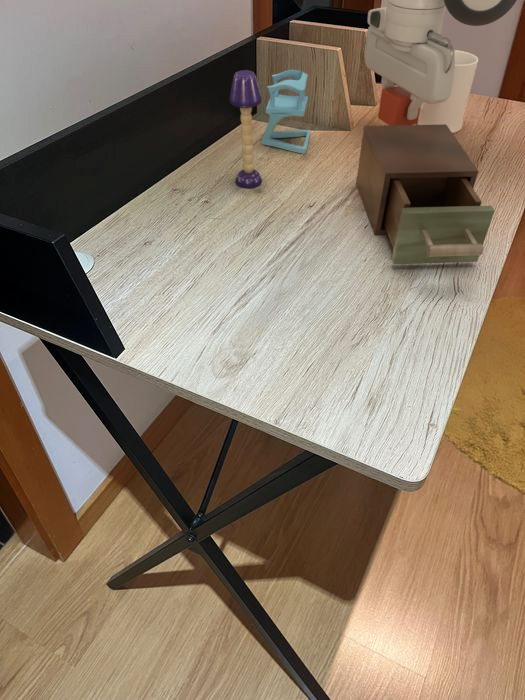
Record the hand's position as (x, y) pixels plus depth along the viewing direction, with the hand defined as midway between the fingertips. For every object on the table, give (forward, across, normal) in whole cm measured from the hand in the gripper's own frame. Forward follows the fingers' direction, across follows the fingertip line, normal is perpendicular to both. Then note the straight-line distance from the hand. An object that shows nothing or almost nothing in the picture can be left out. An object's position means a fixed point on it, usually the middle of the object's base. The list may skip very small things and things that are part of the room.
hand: (399, 111), depth 100 cm
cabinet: (+6, -20, +11) cm, 23 cm away
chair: (+5, +7, +18) cm, 21 cm away
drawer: (+5, -30, +15) cm, 34 cm away
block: (+2, 0, 0) cm, 2 cm away
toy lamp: (+5, -3, +30) cm, 31 cm away
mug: (+6, +3, -11) cm, 13 cm away
